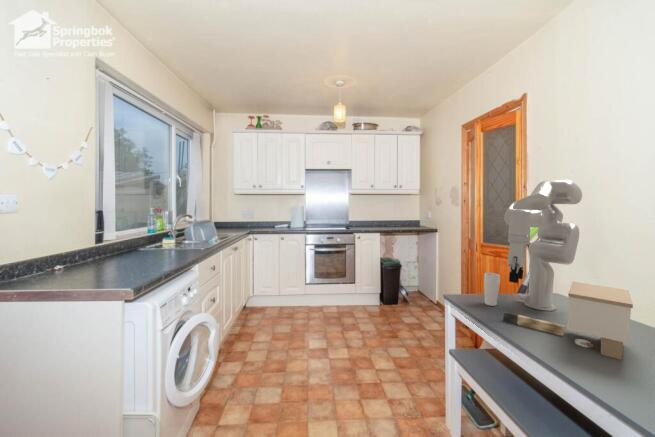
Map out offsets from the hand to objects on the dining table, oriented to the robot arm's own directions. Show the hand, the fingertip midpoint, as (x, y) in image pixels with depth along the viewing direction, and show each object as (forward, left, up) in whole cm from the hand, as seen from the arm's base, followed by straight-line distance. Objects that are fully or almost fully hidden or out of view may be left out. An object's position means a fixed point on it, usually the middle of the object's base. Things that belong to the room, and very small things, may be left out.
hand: (515, 280), depth 125 cm
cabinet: (+26, -2, -18) cm, 31 cm away
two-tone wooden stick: (+7, -1, -18) cm, 19 cm away
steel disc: (+23, -5, -18) cm, 30 cm away
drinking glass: (-13, +17, -18) cm, 28 cm away
